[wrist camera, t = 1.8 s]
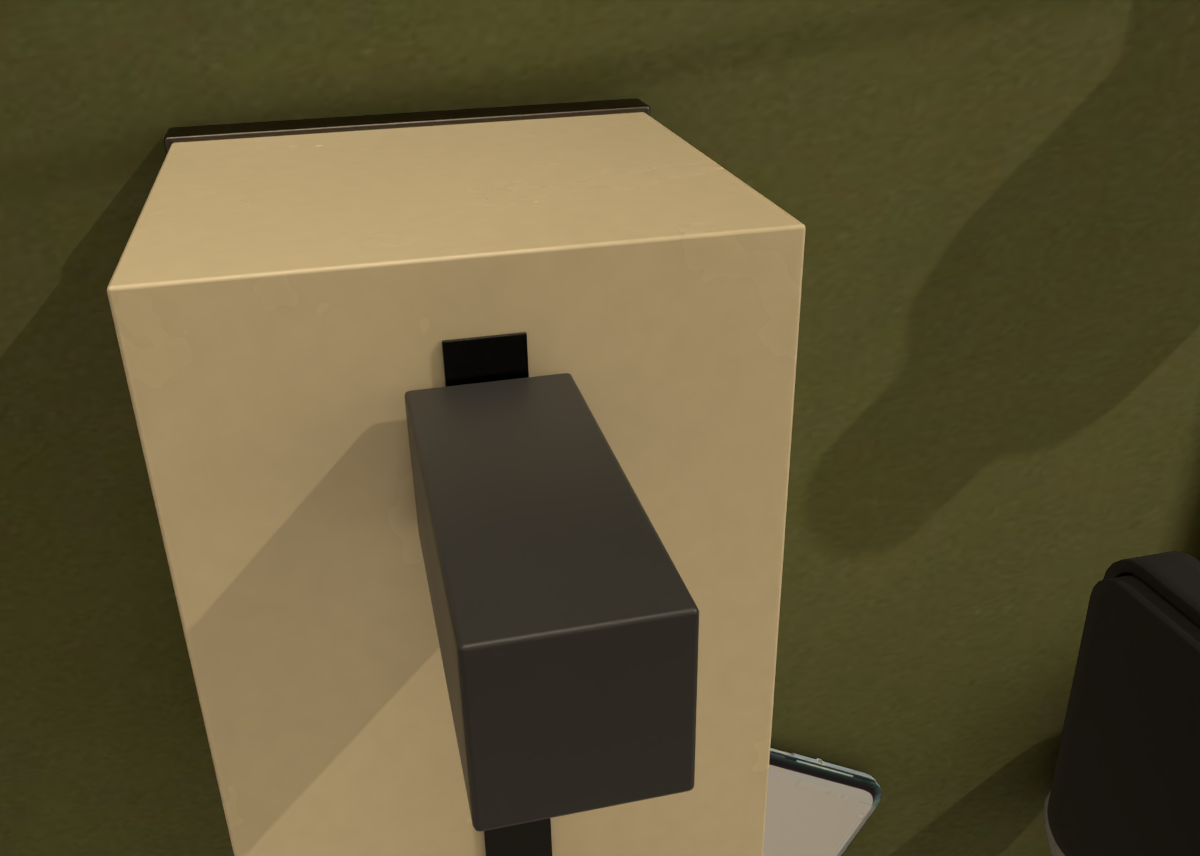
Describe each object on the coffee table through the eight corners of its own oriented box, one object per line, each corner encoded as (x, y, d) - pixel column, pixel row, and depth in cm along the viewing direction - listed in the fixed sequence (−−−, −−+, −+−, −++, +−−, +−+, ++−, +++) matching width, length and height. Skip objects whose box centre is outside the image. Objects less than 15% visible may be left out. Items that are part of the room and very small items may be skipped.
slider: (403, 389, 13) (456, 648, 9) (570, 370, 14) (701, 610, 9) (418, 535, 14) (474, 836, 10) (575, 513, 14) (696, 792, 10)
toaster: (167, 127, 19) (92, 280, 12) (639, 98, 20) (818, 216, 13) (280, 733, 25) (275, 1075, 18) (639, 672, 26) (763, 962, 19)
